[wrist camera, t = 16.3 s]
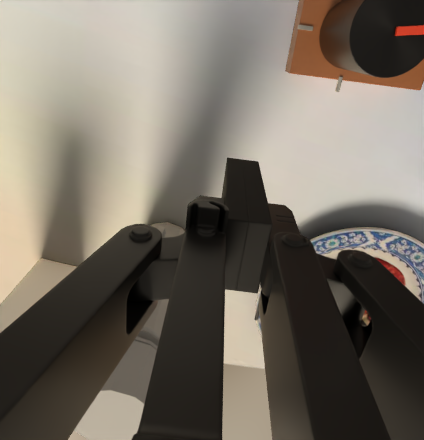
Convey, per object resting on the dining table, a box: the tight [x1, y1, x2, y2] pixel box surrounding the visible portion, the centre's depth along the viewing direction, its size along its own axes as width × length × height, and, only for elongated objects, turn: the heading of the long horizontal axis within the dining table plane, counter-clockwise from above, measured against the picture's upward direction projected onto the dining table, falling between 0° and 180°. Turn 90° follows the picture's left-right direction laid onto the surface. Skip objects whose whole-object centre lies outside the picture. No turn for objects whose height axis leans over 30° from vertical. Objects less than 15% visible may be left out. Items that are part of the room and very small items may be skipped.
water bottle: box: [74, 222, 185, 440], centre depth 36 cm, size 9×8×25 cm
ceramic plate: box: [256, 227, 424, 337], centre depth 49 cm, size 26×26×3 cm
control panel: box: [285, 0, 424, 92], centre depth 34 cm, size 13×11×3 cm
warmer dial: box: [319, 0, 424, 78], centre depth 29 cm, size 6×6×10 cm
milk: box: [0, 258, 77, 333], centre depth 41 cm, size 6×6×22 cm
